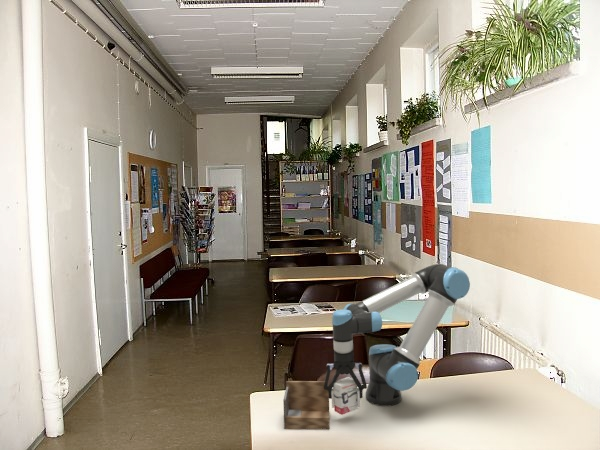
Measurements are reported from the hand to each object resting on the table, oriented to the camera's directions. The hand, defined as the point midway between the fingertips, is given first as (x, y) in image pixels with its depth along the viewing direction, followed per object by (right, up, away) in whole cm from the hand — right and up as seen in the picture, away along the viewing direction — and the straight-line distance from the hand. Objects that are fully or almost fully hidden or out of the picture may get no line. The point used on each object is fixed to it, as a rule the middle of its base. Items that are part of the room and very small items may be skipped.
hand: (346, 405), depth 198 cm
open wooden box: (-15, -6, 0) cm, 16 cm away
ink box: (0, -2, 0) cm, 2 cm away
